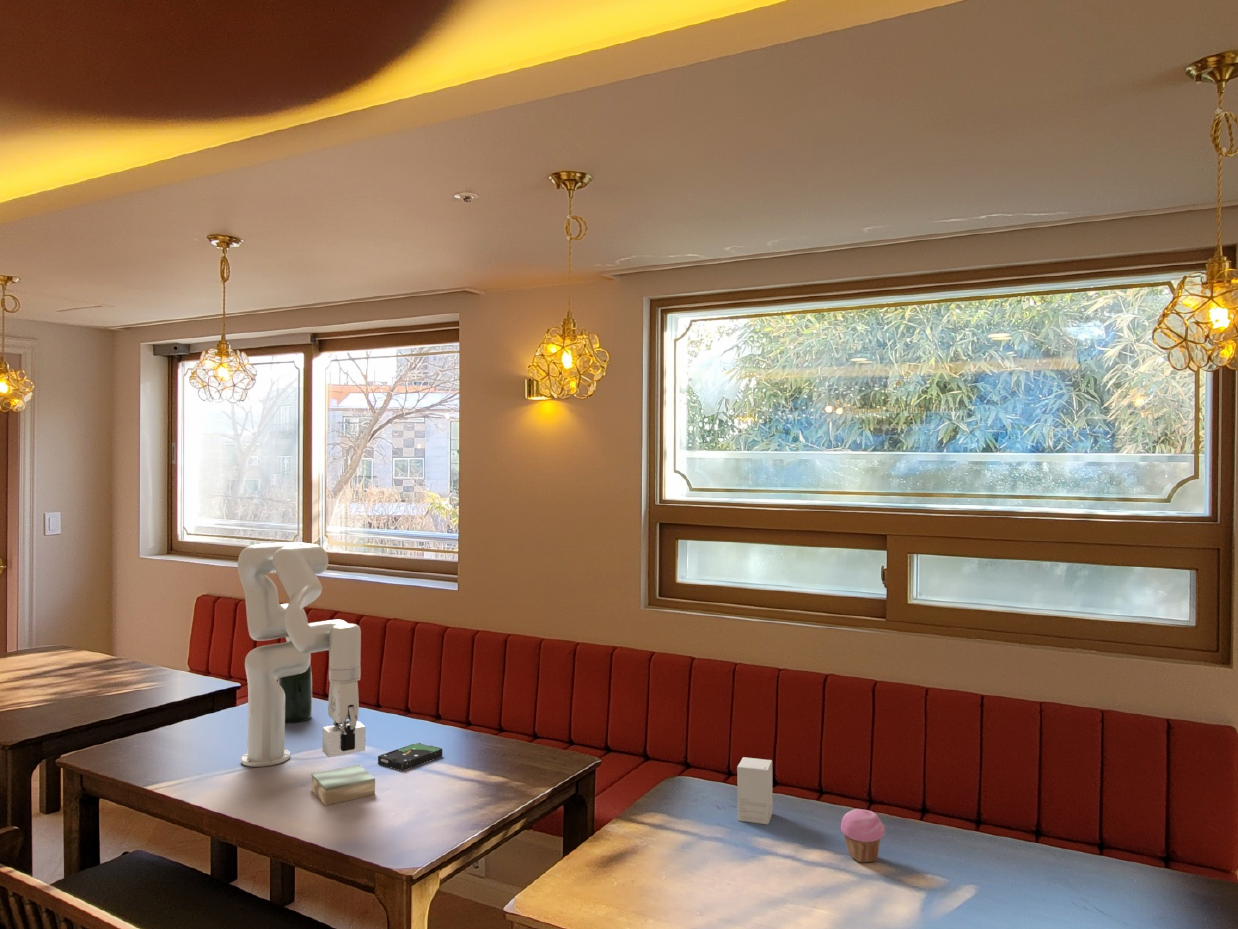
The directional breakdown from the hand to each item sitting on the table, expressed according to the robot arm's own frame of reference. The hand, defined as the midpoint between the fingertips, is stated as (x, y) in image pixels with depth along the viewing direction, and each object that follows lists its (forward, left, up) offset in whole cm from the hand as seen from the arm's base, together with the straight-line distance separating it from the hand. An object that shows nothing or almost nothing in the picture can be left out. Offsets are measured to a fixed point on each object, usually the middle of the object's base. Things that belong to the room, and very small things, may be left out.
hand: (344, 746), depth 206 cm
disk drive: (-13, +23, -12) cm, 29 cm away
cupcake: (+98, +77, -12) cm, 125 cm away
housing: (0, 0, -1) cm, 1 cm away
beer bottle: (-72, +7, -12) cm, 73 cm away
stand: (0, 0, -11) cm, 12 cm away
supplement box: (+70, +74, -12) cm, 102 cm away
